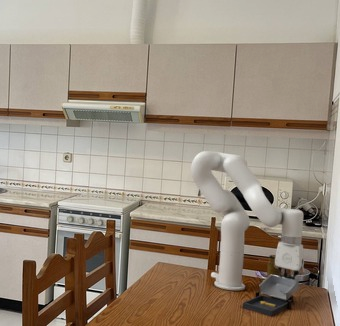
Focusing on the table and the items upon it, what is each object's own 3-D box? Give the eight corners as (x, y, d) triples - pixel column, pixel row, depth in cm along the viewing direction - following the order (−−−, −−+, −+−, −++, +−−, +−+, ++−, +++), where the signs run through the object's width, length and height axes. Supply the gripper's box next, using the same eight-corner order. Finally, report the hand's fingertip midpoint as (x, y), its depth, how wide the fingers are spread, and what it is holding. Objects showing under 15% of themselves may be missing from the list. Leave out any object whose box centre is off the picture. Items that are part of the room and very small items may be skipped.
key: (261, 300, 190) (261, 302, 190) (259, 302, 188) (259, 303, 188) (276, 304, 186) (276, 305, 186) (274, 305, 185) (274, 307, 185)
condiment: (274, 280, 224) (276, 254, 223) (288, 285, 216) (290, 258, 215) (261, 281, 221) (263, 254, 220) (274, 286, 213) (276, 259, 212)
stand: (254, 300, 193) (255, 291, 193) (266, 294, 201) (267, 287, 201) (289, 309, 184) (289, 301, 184) (300, 304, 191) (300, 295, 191)
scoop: (259, 293, 193) (258, 285, 192) (277, 276, 204) (277, 268, 203) (287, 301, 185) (287, 292, 184) (305, 282, 196) (304, 274, 196)
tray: (242, 307, 183) (243, 302, 183) (260, 299, 194) (261, 294, 194) (271, 316, 176) (271, 311, 176) (288, 307, 186) (288, 302, 186)
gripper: (268, 237, 200) (264, 282, 201) (307, 245, 189) (304, 292, 190) (276, 235, 206) (272, 279, 207) (315, 242, 195) (311, 288, 196)
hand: (287, 285), depth 198 cm, fingers closed on scoop
